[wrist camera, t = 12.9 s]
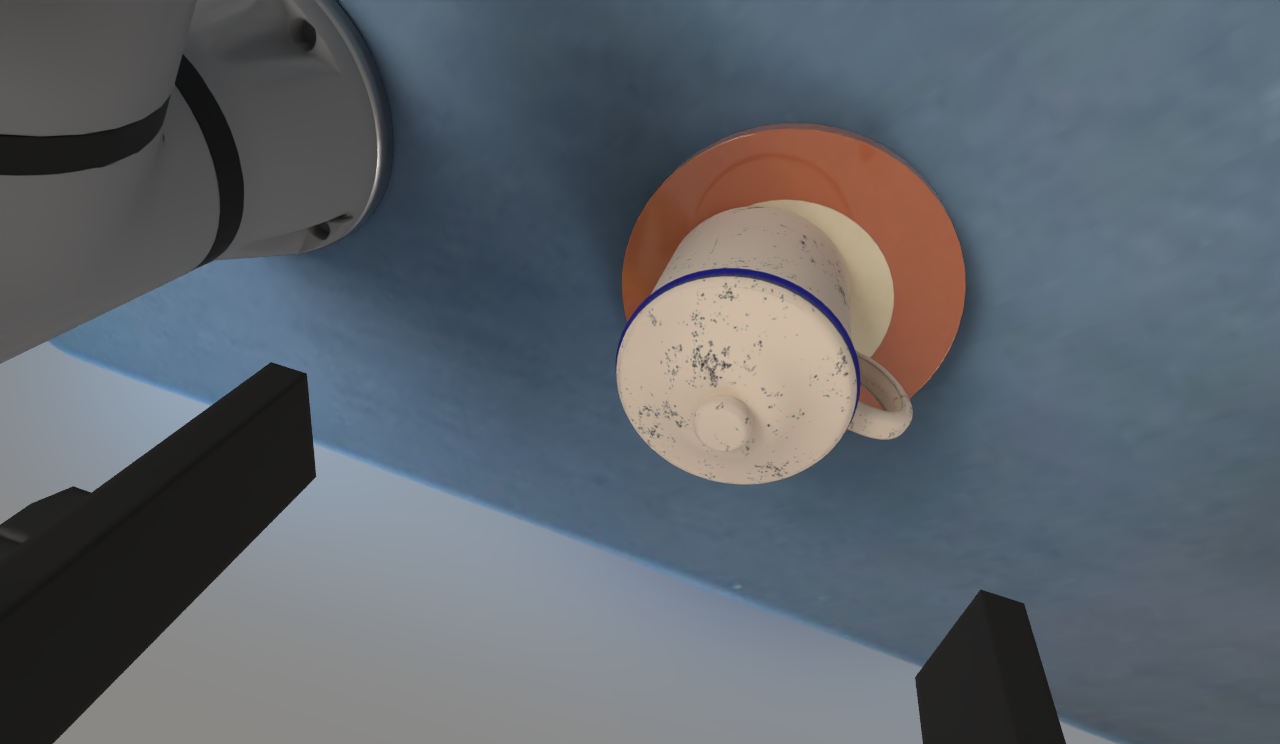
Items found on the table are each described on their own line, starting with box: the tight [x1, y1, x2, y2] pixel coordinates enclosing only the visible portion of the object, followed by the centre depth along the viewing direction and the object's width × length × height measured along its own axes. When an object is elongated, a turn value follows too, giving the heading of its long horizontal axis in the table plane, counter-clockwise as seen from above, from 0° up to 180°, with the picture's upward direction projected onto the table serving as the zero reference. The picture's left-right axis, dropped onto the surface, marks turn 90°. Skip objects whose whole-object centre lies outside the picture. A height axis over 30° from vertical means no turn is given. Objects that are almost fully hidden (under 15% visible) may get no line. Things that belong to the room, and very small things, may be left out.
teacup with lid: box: [616, 206, 913, 484], centre depth 28 cm, size 12×9×12 cm
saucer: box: [622, 123, 966, 432], centre depth 33 cm, size 16×16×2 cm
